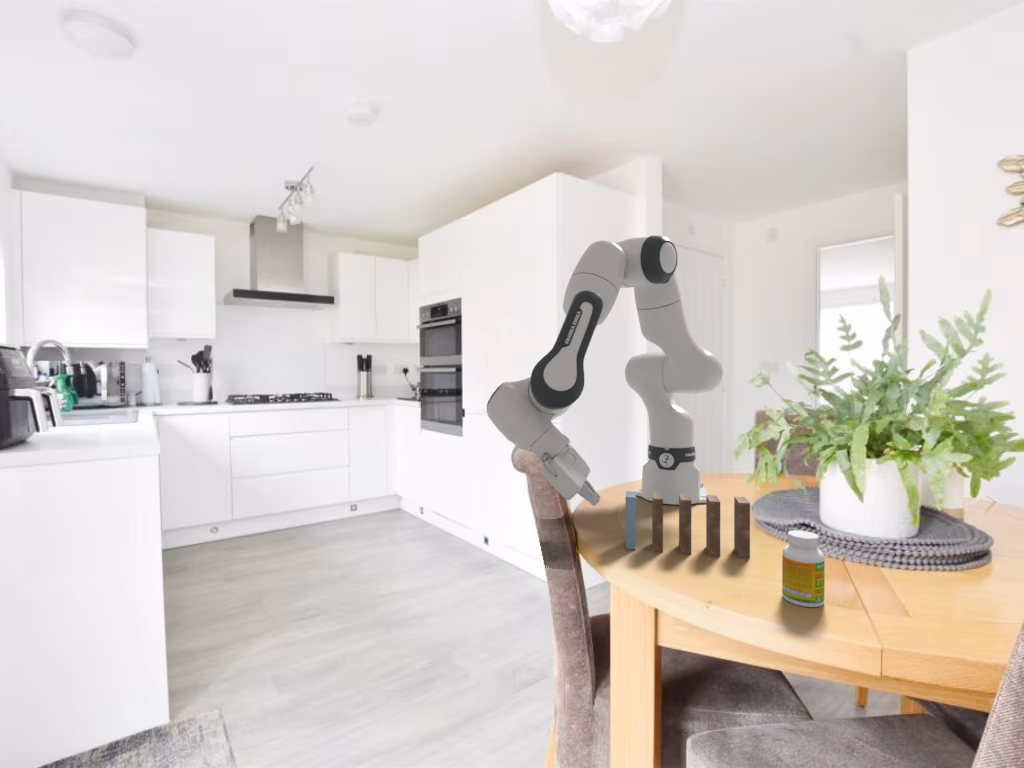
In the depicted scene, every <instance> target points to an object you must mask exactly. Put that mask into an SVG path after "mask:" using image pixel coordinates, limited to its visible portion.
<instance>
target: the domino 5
mask: <svg viewBox="0 0 1024 768" xmlns="http://www.w3.org/2000/svg"><path fill="white" fill-rule="evenodd" d="M733 500H734V501H733V505H734V506H733V510H734V511H733V516H734V517H733V523H734V524H733V525H734V526H733V527H734V528H733V530H734V531H733V532H734V534H733V539H734V540H733V549H734V551H735V553H736V555H737V557H738V558H739V559H748V560H750V559H751V502H749V501H748V499H747V498H746V497H745V496H735V495H734V497H733Z"/></svg>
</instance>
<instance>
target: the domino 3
mask: <svg viewBox="0 0 1024 768" xmlns="http://www.w3.org/2000/svg"><path fill="white" fill-rule="evenodd" d="M678 547H679V551H680V554H681V555H692V504H691V498H690V496H689V494H679V505H678Z"/></svg>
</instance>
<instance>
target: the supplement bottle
mask: <svg viewBox="0 0 1024 768" xmlns="http://www.w3.org/2000/svg"><path fill="white" fill-rule="evenodd" d="M787 542H788V544H787V545H786V546H784V547H783V549H782V557H781V558H782V567H781V568H782V569H781V570H782V571H781V572H782V573H781V574H782V576H781V577H782V579H781V581H782V582H781V586H782V587H781V594H782V597H783V598H784V600H786V601H787V602H789V603H791V604H793V605H796V606H800V607H805V608H819V607H821V606H824V604H825V576H826V575H825V562H826V561H825V555H824V552H823V551H822V550H820V549H819V546H820V536H819V535H818V534H817V533H813V532H810V531H805V530H798V529H797V530H795V529H793V530H790V531H789V530H788V532H787Z"/></svg>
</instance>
